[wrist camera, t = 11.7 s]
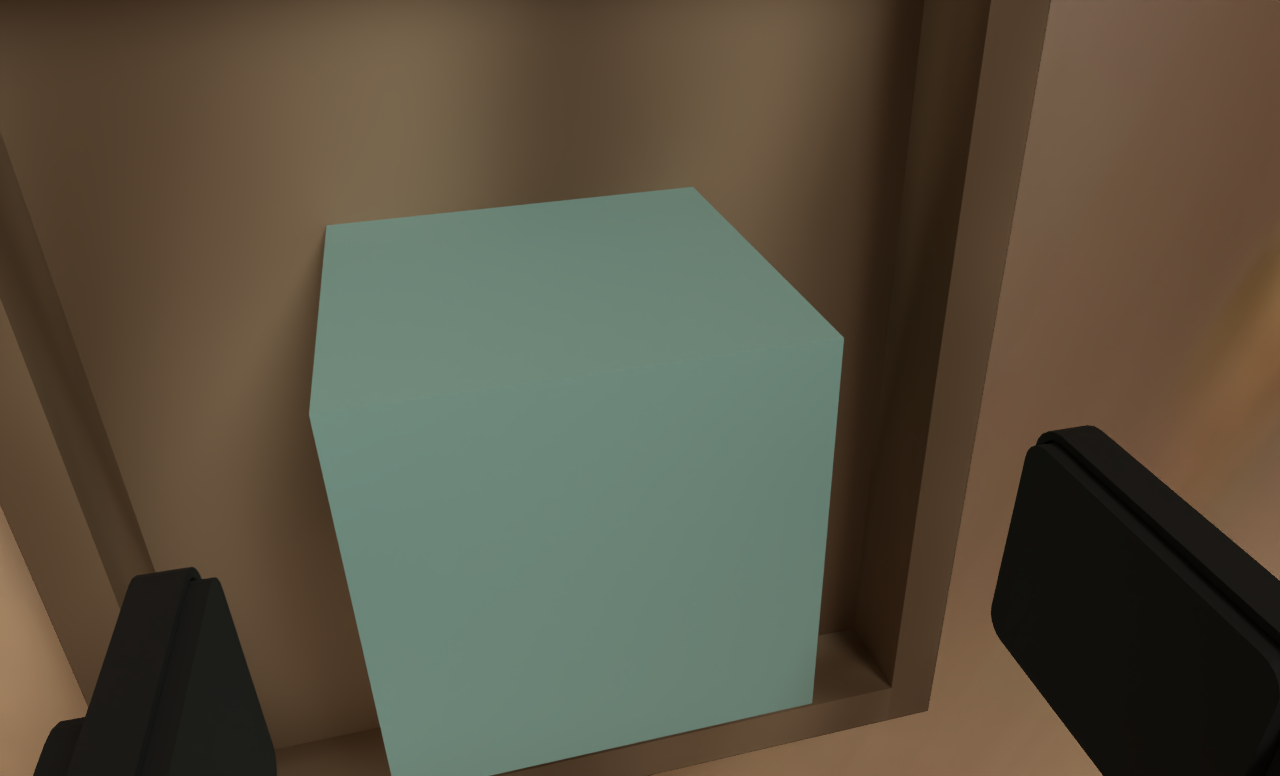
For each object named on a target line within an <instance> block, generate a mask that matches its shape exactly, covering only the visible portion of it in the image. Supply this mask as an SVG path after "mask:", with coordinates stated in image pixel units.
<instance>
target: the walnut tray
mask: <svg viewBox="0 0 1280 776" xmlns="http://www.w3.org/2000/svg"><path fill="white" fill-rule="evenodd" d="M1050 3H1051V0H0V505H1V507H2V510H3V512H4V514H5V517H6V519H7V521H8V524H9V526H10V528H11V530H12V533H13V535H14V537H15V540H16V542H17V544H18V547H19V549H20V551H21V553H22V556H23V558H24V560H25V563H26V565H27V567H28V570H29V572H30V574H31V576H32V579H33V581H34V583H35V586H36V588H37V590H38V592H39V595H40V597H41V599H42V602H43V604H44V606H45V609H46V611H47V613H48V615H49V618H50V620H51V622H52V625H53V627H54V629H55V632H56V634H57V636H58V638H59V641H60V643H61V645H62V648H63V650H64V652H65V655H66V657H67V659H68V661H69V664H70V666H71V668H72V671H73V673H74V675H75V677H76V680H77V682H78V684H79V687H80V689H81V691H82V694H83V696H84V698H85V700H86V703H87V705H88V707H89V704H90V701H91V698H92V695H93V692H94V689H95V686H96V683H97V680H98V677H99V674H100V671H101V668H102V665H103V662H104V659H105V656H106V652H107V649H108V646H109V643H110V640H111V637H112V634H113V631H114V628H115V625H116V622H117V619H118V616H119V613H120V610H121V607H122V604H123V601H124V598H125V595H126V592H127V589H128V586H129V584H130V582H131V579H132V578H133V577H135V576H136V575H142V574H149V573H155V572H161V571H168V570H174V569H180V568H187V567H194V568H196V569H197V571H198V572H199V574H200V576H201V578H202V579H207V578H213V577H216V578H218V580H219V581H220V583H221V585H222V588H223V591H224V594H225V597H226V600H227V603H228V606H229V610H230V613H231V616H232V619H233V622H234V625H235V628H236V631H237V634H238V637H239V641H240V644H241V647H242V650H243V653H244V656H245V659H246V662H247V665H248V668H249V672H250V675H251V678H252V681H253V684H254V687H255V690H256V693H257V696H258V700H259V703H260V706H261V709H262V712H263V715H264V718H265V721H266V724H267V727H268V731H269V734H270V737H271V740H272V743H273V746H274V750H275V756H276V764H277V776H391V772H390V767H389V763H388V759H387V754H386V750H385V745H384V741H383V737H382V732H381V728H380V724H379V719H378V715H377V710H376V706H375V702H374V697H373V693H372V689H371V684H370V680H369V675H368V671H367V667H366V662H365V658H364V654H363V649H362V645H361V640H360V636H359V632H358V627H357V623H356V619H355V614H354V610H353V605H352V601H351V597H350V592H349V588H348V584H347V579H346V575H345V570H344V566H343V562H342V557H341V553H340V549H339V544H338V540H337V535H336V531H335V527H334V522H333V518H332V514H331V509H330V505H329V500H328V496H327V492H326V487H325V483H324V479H323V474H322V470H321V465H320V461H319V457H318V452H317V448H316V444H315V439H314V435H313V430H312V426H311V422H310V417H309V408H310V398H311V387H312V376H313V365H314V355H315V344H316V333H317V322H318V311H319V301H320V290H321V279H322V268H323V258H324V247H325V236H326V225H335V224H345V223H354V222H364V221H373V220H383V219H392V218H402V217H411V216H421V215H430V214H440V213H449V212H459V211H468V210H478V209H487V208H497V207H506V206H515V205H525V204H534V203H544V202H553V201H563V200H572V199H582V198H591V197H601V196H610V195H620V194H629V193H639V192H648V191H658V190H667V189H677V188H686V187H694V188H695V189H696V190H697V191H698V192H699V193H700V194H701V195H702V196H703V197H704V198H705V199H706V200H707V201H708V202H709V203H710V204H711V205H712V206H713V207H714V208H715V209H716V210H717V211H718V212H719V213H720V214H721V215H722V216H723V217H724V218H725V219H726V220H727V221H728V222H729V223H730V224H731V225H732V226H733V227H734V228H735V229H736V230H737V231H738V232H739V233H740V234H741V235H742V236H743V237H744V238H745V239H746V240H747V241H748V242H749V243H750V244H751V245H752V246H753V247H754V248H755V249H756V250H757V251H758V252H759V253H760V254H761V255H762V256H763V257H764V258H765V259H766V260H767V261H768V262H769V263H770V264H771V265H772V266H773V267H774V268H775V269H776V270H777V271H778V272H779V273H780V274H781V275H782V276H783V277H784V278H785V279H786V280H787V281H788V282H789V283H790V284H791V285H792V286H793V287H794V288H795V289H796V290H797V291H798V292H799V293H800V294H801V295H802V296H803V297H804V298H805V299H806V300H807V301H808V302H809V303H810V304H811V305H812V306H813V307H814V308H815V309H816V310H817V311H818V312H819V313H820V314H821V315H822V316H823V317H824V318H825V319H826V320H827V321H828V322H829V323H830V324H831V325H832V326H833V327H834V328H835V329H836V330H837V331H838V332H839V333H840V334H841V335H842V336H843V337H844V345H843V356H842V368H841V379H840V391H839V402H838V413H837V425H836V436H835V448H834V459H833V471H832V482H831V493H830V505H829V516H828V528H827V539H826V550H825V562H824V573H823V585H822V596H821V607H820V619H819V630H818V642H817V653H816V665H815V676H814V687H813V699H812V703H811V704H807V705H802V706H798V707H793V708H789V709H784V710H780V711H775V712H771V713H767V714H762V715H758V716H753V717H749V718H744V719H740V720H735V721H731V722H727V723H722V724H718V725H713V726H709V727H704V728H700V729H695V730H691V731H686V732H682V733H678V734H673V735H669V736H664V737H660V738H655V739H651V740H646V741H642V742H638V743H633V744H629V745H624V746H620V747H615V748H611V749H606V750H602V751H598V752H593V753H589V754H584V755H580V756H575V757H571V758H566V759H562V760H558V761H553V762H549V763H544V764H540V765H535V766H531V767H526V768H522V769H518V770H513V771H509V772H504V773H500V774H495V775H491V776H649V775H653V774H657V773H662V772H666V771H670V770H674V769H679V768H683V767H687V766H692V765H696V764H700V763H705V762H709V761H713V760H718V759H722V758H726V757H731V756H735V755H739V754H743V753H748V752H752V751H756V750H761V749H765V748H769V747H774V746H778V745H782V744H787V743H791V742H795V741H800V740H804V739H808V738H812V737H817V736H821V735H825V734H830V733H834V732H838V731H843V730H847V729H851V728H856V727H860V726H864V725H868V724H873V723H877V722H881V721H886V720H890V719H894V718H899V717H903V716H907V715H912V714H916V713H920V712H925V711H928V707H929V701H930V695H931V689H932V684H933V678H934V672H935V666H936V660H937V655H938V649H939V643H940V637H941V632H942V626H943V620H944V614H945V609H946V603H947V597H948V591H949V585H950V580H951V574H952V568H953V562H954V557H955V551H956V545H957V539H958V534H959V528H960V522H961V516H962V510H963V505H964V499H965V493H966V487H967V482H968V476H969V470H970V464H971V459H972V453H973V447H974V441H975V435H976V430H977V424H978V418H979V412H980V407H981V401H982V395H983V389H984V384H985V378H986V372H987V366H988V360H989V355H990V349H991V343H992V337H993V332H994V326H995V320H996V314H997V309H998V303H999V297H1000V291H1001V286H1002V280H1003V274H1004V268H1005V262H1006V257H1007V251H1008V245H1009V239H1010V234H1011V228H1012V222H1013V216H1014V211H1015V205H1016V199H1017V193H1018V187H1019V182H1020V176H1021V170H1022V164H1023V159H1024V153H1025V147H1026V141H1027V136H1028V130H1029V124H1030V118H1031V112H1032V107H1033V101H1034V95H1035V89H1036V84H1037V78H1038V72H1039V66H1040V61H1041V55H1042V49H1043V43H1044V37H1045V32H1046V26H1047V20H1048V14H1049V9H1050Z"/></svg>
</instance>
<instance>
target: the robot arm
mask: <svg viewBox="0 0 1280 776" xmlns="http://www.w3.org/2000/svg"><path fill="white" fill-rule="evenodd" d="M991 618H992V623H993V627H994V629H995V632H996V634H997V635H998V637H999V639H1000V640H1001V642H1002V643H1003V644H1004V645H1005V647H1006V648H1007V649H1008V651H1009V652H1010V653H1011V655H1012V656H1013V657H1014V659H1015V660H1016V661H1017V663H1018V664H1019V665H1020V667H1021V668H1022V669H1023V671H1024V672H1025V673H1026V674H1027V676H1028V677H1029V678H1030V680H1031V681H1032V682H1033V684H1034V685H1035V686H1036V688H1037V689H1038V690H1039V692H1040V693H1041V694H1042V696H1043V697H1044V698H1045V700H1046V701H1047V702H1048V703H1049V705H1050V706H1051V707H1052V709H1053V710H1054V711H1055V713H1056V714H1057V715H1058V717H1059V718H1060V719H1061V721H1062V722H1063V723H1064V725H1065V726H1066V727H1067V729H1068V730H1069V731H1070V732H1071V734H1072V735H1073V736H1074V738H1075V739H1076V740H1077V742H1078V743H1079V744H1080V746H1081V747H1082V748H1083V750H1084V751H1085V752H1086V754H1087V755H1088V756H1089V758H1090V759H1091V760H1092V761H1093V763H1094V764H1095V765H1096V767H1097V768H1098V769H1099V771H1100V772H1101V773H1102V775H1103V776H1280V581H1279V580H1278V579H1277V578H1276V577H1275V576H1273V575H1272V574H1271V573H1270V572H1269V571H1267V570H1266V569H1265V568H1264V567H1263V566H1261V565H1260V564H1259V563H1258V562H1257V561H1256V560H1254V559H1253V558H1252V557H1251V556H1250V555H1248V554H1247V553H1246V552H1245V551H1244V550H1243V549H1241V548H1240V547H1239V546H1238V545H1237V544H1235V543H1234V542H1233V541H1232V540H1231V539H1229V538H1228V537H1227V536H1226V535H1225V534H1224V533H1222V532H1221V531H1220V530H1219V529H1218V528H1216V527H1215V526H1214V525H1213V524H1212V523H1211V522H1209V521H1208V520H1207V519H1206V518H1205V517H1203V516H1202V515H1201V514H1200V513H1199V512H1197V511H1196V510H1195V509H1194V508H1193V507H1192V506H1190V505H1189V504H1188V503H1187V502H1186V501H1184V500H1183V499H1182V498H1181V497H1180V496H1179V495H1177V494H1176V493H1175V492H1174V491H1173V490H1171V489H1170V488H1169V487H1168V486H1167V485H1165V484H1164V483H1163V482H1162V481H1161V480H1160V479H1158V478H1157V477H1156V476H1155V475H1154V474H1152V473H1151V472H1150V471H1149V470H1148V469H1147V468H1145V467H1144V466H1143V465H1142V464H1141V463H1139V462H1138V461H1137V460H1136V459H1135V458H1133V457H1132V456H1131V455H1130V454H1129V453H1128V452H1126V451H1125V450H1124V449H1123V448H1122V447H1120V446H1119V445H1118V444H1117V443H1116V442H1114V441H1113V440H1112V439H1111V438H1110V437H1109V436H1107V435H1106V434H1105V433H1104V432H1103V431H1101V430H1100V429H1098V428H1096V427H1095V426H1089V425H1086V426H1080V427H1074V428H1067V429H1061V430H1055V431H1048V432H1046V433H1043V434H1042V435H1041V436H1040V437H1039V439H1038V441H1037V443H1036V446H1033V447H1031V448H1030V449H1029V450H1028V452H1027V454H1026V457H1025V461H1024V466H1023V470H1022V474H1021V479H1020V483H1019V488H1018V492H1017V496H1016V501H1015V505H1014V510H1013V514H1012V518H1011V523H1010V527H1009V532H1008V536H1007V540H1006V545H1005V549H1004V554H1003V558H1002V563H1001V567H1000V571H999V576H998V580H997V585H996V589H995V593H994V598H993V602H992V607H991ZM33 776H277V764H276V756H275V750H274V746H273V743H272V740H271V737H270V734H269V731H268V727H267V724H266V721H265V718H264V715H263V712H262V709H261V706H260V703H259V700H258V696H257V693H256V690H255V687H254V684H253V681H252V678H251V675H250V672H249V668H248V665H247V662H246V659H245V656H244V653H243V650H242V647H241V644H240V641H239V637H238V634H237V631H236V628H235V625H234V622H233V619H232V616H231V613H230V610H229V606H228V603H227V600H226V597H225V594H224V591H223V588H222V585H221V583H220V581H219V580H218V578H216V577H213V578H207V579H202V578H201V576H200V574H199V572H198V571H197V569H196V568H194V567H187V568H180V569H174V570H168V571H161V572H155V573H149V574H142V575H136V576H135V577H133V578H132V579H131V582H130V584H129V586H128V589H127V592H126V595H125V598H124V601H123V604H122V607H121V610H120V613H119V616H118V619H117V622H116V625H115V628H114V631H113V634H112V637H111V640H110V643H109V646H108V649H107V652H106V656H105V659H104V662H103V665H102V668H101V671H100V674H99V677H98V680H97V683H96V686H95V689H94V692H93V695H92V698H91V701H90V704H89V707H88V710H87V713H86V716H85V717H83V718H77V719H72V720H66V721H61V722H59V723H58V724H57V725H56V726H55V727H54V728H53V729H52V730H51V732H50V734H49V736H48V738H47V740H46V742H45V744H44V747H43V750H42V752H41V755H40V758H39V761H38V763H37V766H36V769H35V772H34V774H33Z"/></svg>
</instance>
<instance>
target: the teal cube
mask: <svg viewBox="0 0 1280 776" xmlns="http://www.w3.org/2000/svg"><path fill="white" fill-rule="evenodd" d="M843 345H844V337H843V336H842V335H841V334H840V333H839V332H838V331H837V330H836V329H835V328H834V327H833V326H832V325H831V324H830V323H829V322H828V321H827V320H826V319H825V318H824V317H823V316H822V315H821V314H820V313H819V312H818V311H817V310H816V309H815V308H814V307H813V306H812V305H811V304H810V303H809V302H808V301H807V300H806V299H805V298H804V297H803V296H802V295H801V294H800V293H799V292H798V291H797V290H796V289H795V288H794V287H793V286H792V285H791V284H790V283H789V282H788V281H787V280H786V279H785V278H784V277H783V276H782V275H781V274H780V273H779V272H778V271H777V270H776V269H775V268H774V267H773V266H772V265H771V264H770V263H769V262H768V261H767V260H766V259H765V258H764V257H763V256H762V255H761V254H760V253H759V252H758V251H757V250H756V249H755V248H754V247H753V246H752V245H751V244H750V243H749V242H748V241H747V240H746V239H745V238H744V237H743V236H742V235H741V234H740V233H739V232H738V231H737V230H736V229H735V228H734V227H733V226H732V225H731V224H730V223H729V222H728V221H727V220H726V219H725V218H724V217H723V216H722V215H721V214H720V213H719V212H718V211H717V210H716V209H715V208H714V207H713V206H712V205H711V204H710V203H709V202H708V201H707V200H706V199H705V198H704V197H703V196H702V195H701V194H700V193H699V192H698V191H697V190H696V189H695V188H694V187H686V188H677V189H667V190H658V191H648V192H639V193H629V194H620V195H610V196H601V197H591V198H582V199H572V200H563V201H553V202H544V203H534V204H525V205H515V206H506V207H497V208H487V209H478V210H468V211H459V212H449V213H440V214H430V215H421V216H411V217H402V218H392V219H383V220H373V221H364V222H354V223H345V224H335V225H326V236H325V247H324V258H323V268H322V279H321V290H320V301H319V311H318V322H317V333H316V344H315V355H314V365H313V376H312V387H311V398H310V408H309V417H310V422H311V426H312V430H313V435H314V439H315V444H316V448H317V452H318V457H319V461H320V465H321V470H322V474H323V479H324V483H325V487H326V492H327V496H328V500H329V505H330V509H331V514H332V518H333V522H334V527H335V531H336V535H337V540H338V544H339V549H340V553H341V557H342V562H343V566H344V570H345V575H346V579H347V584H348V588H349V592H350V597H351V601H352V605H353V610H354V614H355V619H356V623H357V627H358V632H359V636H360V640H361V645H362V649H363V654H364V658H365V662H366V667H367V671H368V675H369V680H370V684H371V689H372V693H373V697H374V702H375V706H376V710H377V715H378V719H379V724H380V728H381V732H382V737H383V741H384V745H385V750H386V754H387V759H388V763H389V767H390V772H391V776H491V775H495V774H500V773H504V772H509V771H513V770H518V769H522V768H526V767H531V766H535V765H540V764H544V763H549V762H553V761H558V760H562V759H566V758H571V757H575V756H580V755H584V754H589V753H593V752H598V751H602V750H606V749H611V748H615V747H620V746H624V745H629V744H633V743H638V742H642V741H646V740H651V739H655V738H660V737H664V736H669V735H673V734H678V733H682V732H686V731H691V730H695V729H700V728H704V727H709V726H713V725H718V724H722V723H727V722H731V721H735V720H740V719H744V718H749V717H753V716H758V715H762V714H767V713H771V712H775V711H780V710H784V709H789V708H793V707H798V706H802V705H807V704H811V703H812V699H813V687H814V676H815V665H816V653H817V642H818V630H819V619H820V607H821V596H822V585H823V573H824V562H825V550H826V539H827V528H828V516H829V505H830V493H831V482H832V471H833V459H834V448H835V436H836V425H837V413H838V402H839V391H840V379H841V368H842V356H843Z"/></svg>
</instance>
